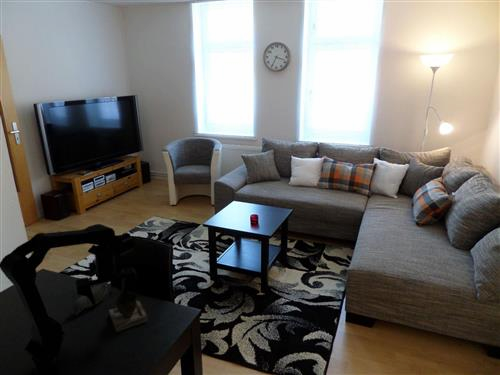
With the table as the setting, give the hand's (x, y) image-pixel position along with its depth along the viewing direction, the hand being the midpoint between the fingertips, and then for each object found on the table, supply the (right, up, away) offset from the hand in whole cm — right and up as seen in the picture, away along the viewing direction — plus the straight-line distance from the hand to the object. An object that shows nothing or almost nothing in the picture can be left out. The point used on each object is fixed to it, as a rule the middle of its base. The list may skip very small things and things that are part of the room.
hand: (108, 301), depth 117 cm
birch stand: (+4, -9, +9) cm, 13 cm away
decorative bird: (-12, -7, +16) cm, 21 cm away
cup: (+4, -8, +8) cm, 12 cm away
